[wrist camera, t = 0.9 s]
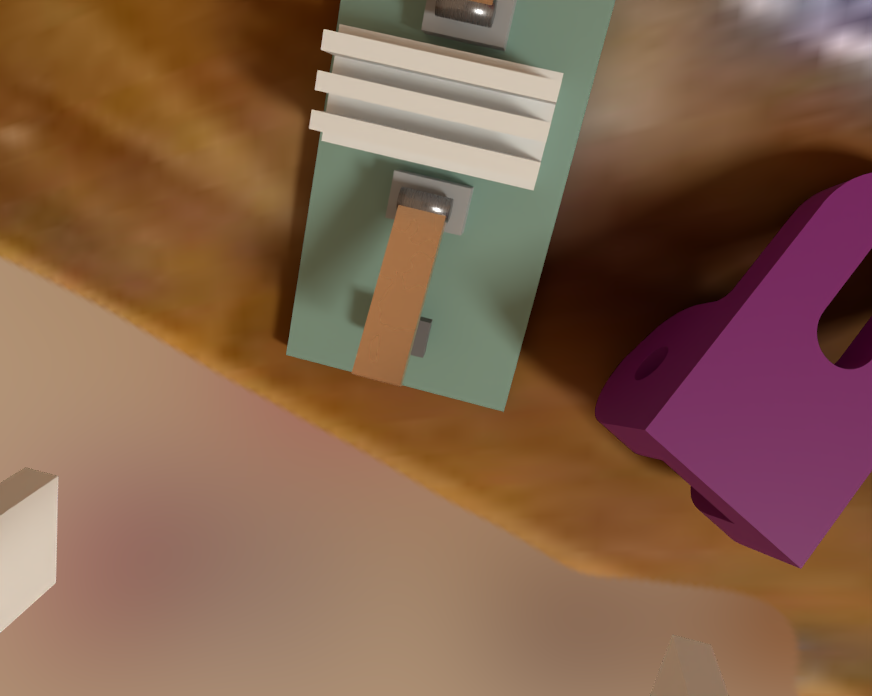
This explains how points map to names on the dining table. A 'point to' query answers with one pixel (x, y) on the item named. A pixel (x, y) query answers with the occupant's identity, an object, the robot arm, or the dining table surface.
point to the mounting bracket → (762, 387)
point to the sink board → (444, 176)
